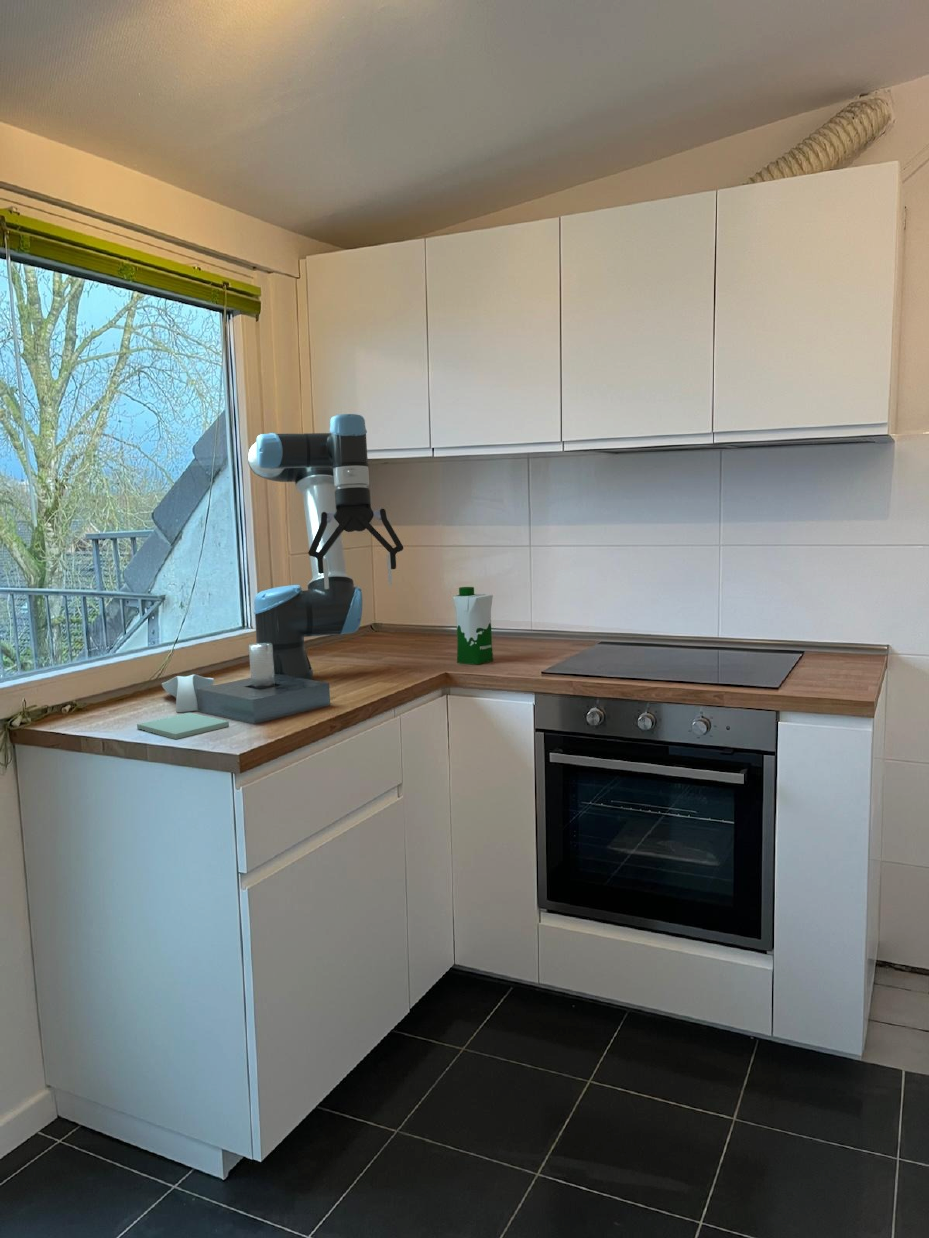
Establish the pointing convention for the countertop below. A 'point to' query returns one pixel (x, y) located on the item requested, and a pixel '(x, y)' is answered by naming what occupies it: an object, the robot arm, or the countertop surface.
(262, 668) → the grey tall block
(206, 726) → the mat
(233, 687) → the housing
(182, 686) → the white curved piece
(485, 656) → the milk carton
